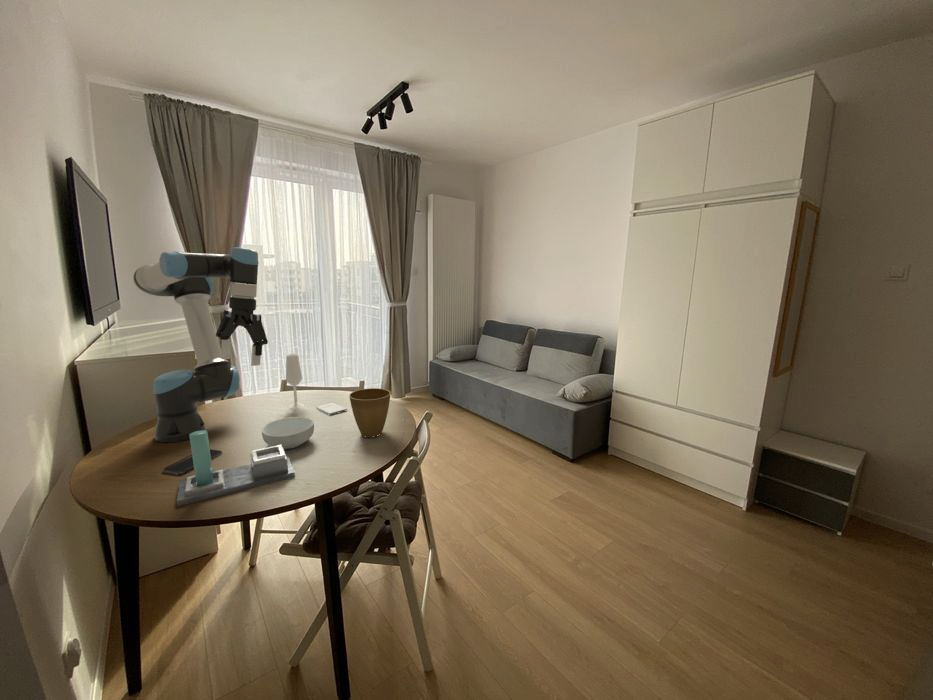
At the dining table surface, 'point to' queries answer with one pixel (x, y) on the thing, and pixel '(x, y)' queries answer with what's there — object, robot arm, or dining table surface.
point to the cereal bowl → (288, 432)
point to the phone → (187, 464)
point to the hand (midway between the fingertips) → (240, 362)
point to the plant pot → (370, 410)
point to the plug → (201, 458)
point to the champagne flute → (293, 375)
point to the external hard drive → (331, 408)
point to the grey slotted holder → (240, 476)
